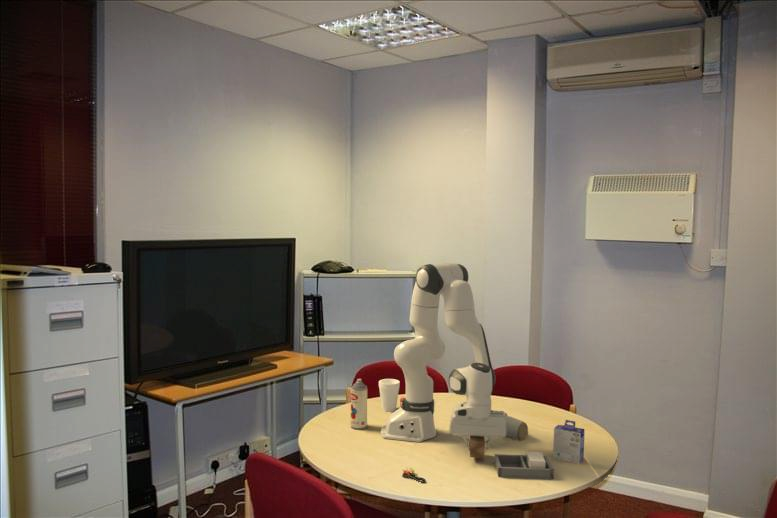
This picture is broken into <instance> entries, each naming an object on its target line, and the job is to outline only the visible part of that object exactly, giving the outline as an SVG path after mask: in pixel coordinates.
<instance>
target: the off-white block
mask: <svg viewBox="0 0 777 518" xmlns="http://www.w3.org/2000/svg"><path fill="white" fill-rule="evenodd" d="M525 455H526V467H527V468H545V462H546V461H545V459H544V457H543V456H544V455H543V453H542V452H541V451H540V452H539V451H526V453H525Z"/></svg>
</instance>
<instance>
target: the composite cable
mask: <svg viewBox="0 0 777 518" xmlns="http://www.w3.org/2000/svg"><path fill="white" fill-rule="evenodd" d="M402 472H403V473H402V474H401V477H402V478H406V479H409V478H410V479H411V480H413V479H414V480H413V481H415V480H416V482H417V481H418V483H419V482H421V483H420V484H426V483H425V482H427V480H426V478H424V477H420V476H419V477H418V476H416V473H415V470H414V468H412V467H406V469H402ZM420 480H422V481H420Z"/></svg>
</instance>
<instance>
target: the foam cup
mask: <svg viewBox="0 0 777 518" xmlns="http://www.w3.org/2000/svg"><path fill="white" fill-rule="evenodd" d="M400 383H401V382H400V380H398V379H394V378H384V379H380V380H379V381H378V388H379V397H380V404H381V411H383V412H384V413H386V412H387V413H393V412H395V411H396V410H397V405H398V400H399V397H398V396H399V392H400V386H401V385H400Z"/></svg>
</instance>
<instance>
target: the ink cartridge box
mask: <svg viewBox="0 0 777 518" xmlns="http://www.w3.org/2000/svg"><path fill="white" fill-rule="evenodd" d="M568 423H571V424H568ZM552 447H553V449H552V459H554V460H559V461H563V462H568V463H574V464H577V465H581V463H582V462H583V461H584V458H585V428H581V427H576V421H575V420H570V419H569V420H568V419H565V422H564V424H557V425H555V427H553V445H552Z"/></svg>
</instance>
